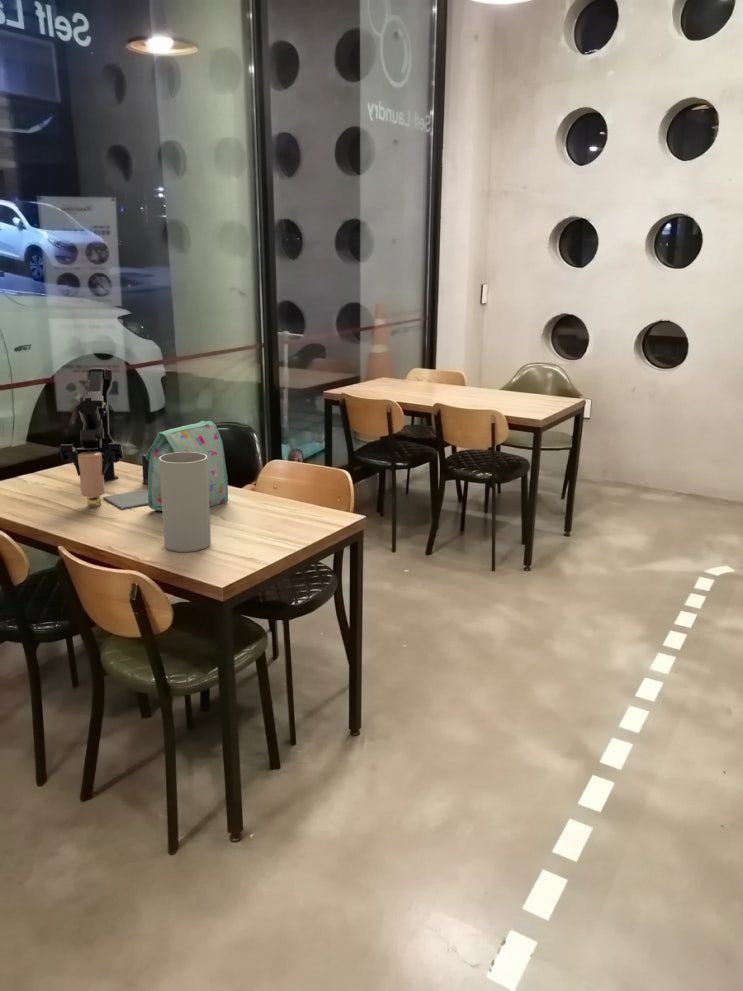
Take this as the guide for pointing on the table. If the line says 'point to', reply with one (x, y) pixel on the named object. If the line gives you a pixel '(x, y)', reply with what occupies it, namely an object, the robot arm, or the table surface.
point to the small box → (145, 469)
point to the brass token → (93, 502)
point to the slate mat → (129, 499)
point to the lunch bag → (189, 440)
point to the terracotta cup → (91, 474)
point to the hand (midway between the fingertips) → (90, 474)
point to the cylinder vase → (185, 501)
